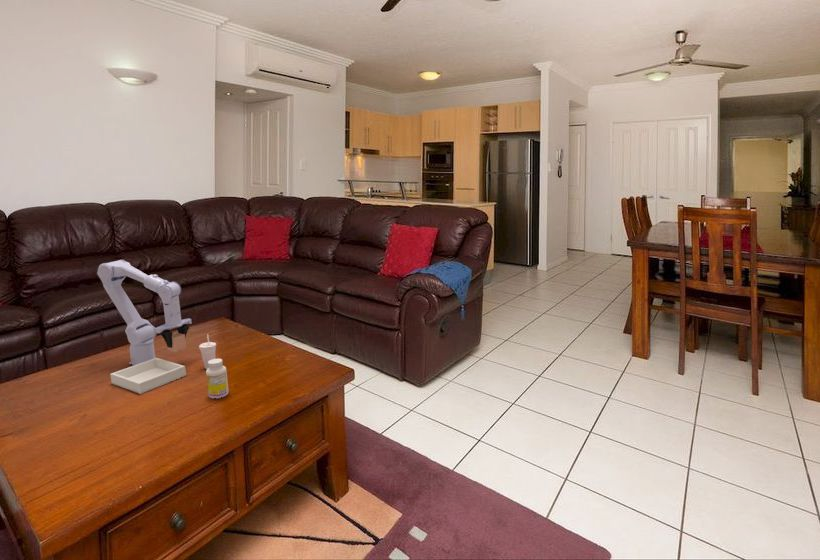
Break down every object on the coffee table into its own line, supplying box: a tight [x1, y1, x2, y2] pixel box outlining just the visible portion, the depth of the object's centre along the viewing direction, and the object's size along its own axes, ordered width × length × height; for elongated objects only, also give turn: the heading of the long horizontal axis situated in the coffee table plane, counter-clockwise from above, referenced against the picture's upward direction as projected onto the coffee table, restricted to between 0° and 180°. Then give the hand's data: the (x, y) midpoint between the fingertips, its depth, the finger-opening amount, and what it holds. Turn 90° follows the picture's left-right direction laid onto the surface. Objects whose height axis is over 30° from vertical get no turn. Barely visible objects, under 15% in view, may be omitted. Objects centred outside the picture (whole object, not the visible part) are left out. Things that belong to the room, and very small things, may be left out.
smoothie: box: [198, 333, 217, 370], centre depth 184 cm, size 6×6×14 cm
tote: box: [110, 357, 187, 395], centre depth 174 cm, size 18×18×4 cm
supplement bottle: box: [205, 358, 230, 399], centre depth 160 cm, size 7×7×13 cm
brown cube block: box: [166, 331, 187, 353], centre depth 185 cm, size 5×5×6 cm
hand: (176, 345), depth 185 cm, fingers closed on brown cube block, 5 cm apart
